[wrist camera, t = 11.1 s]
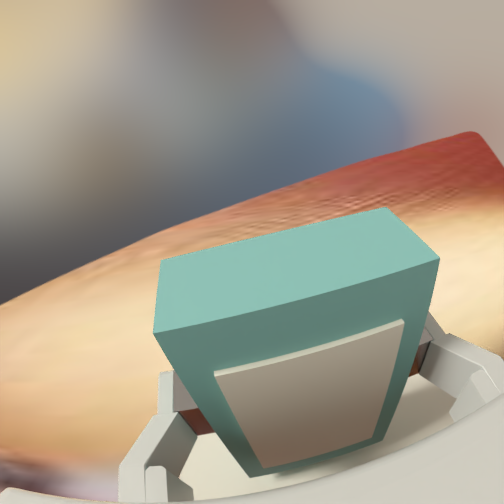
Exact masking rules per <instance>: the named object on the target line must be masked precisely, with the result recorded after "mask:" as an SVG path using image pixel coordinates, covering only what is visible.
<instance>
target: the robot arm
mask: <svg viewBox="0 0 504 504" xmlns="http://www.w3.org/2000/svg"><path fill="white" fill-rule="evenodd" d="M418 373H419V375H420V376H422V377H423V378H425V379H427V380H428V381H430V382H431V383H433V384H434V385H436V386H437V387H439V388H440V389H442V390H444V391H445V392H447V393H448V394H450V395H451V396H453V397H454V398H456V401H455V402H454V404H453V406H452V407H451V409H450V411H449V413H450V415H451V417H452V419H453V421H454V423H453V424H451V425H449V426H447V427H446V428H444V429H442V430H440V431H438V432H436V433H434V434H432V435H430V436H428V437H426V438H424V439H422V440H419V441H417V442H415V443H413V444H411V445H409V446H406V447H404V448H402V449H399V450H397V451H395V452H392V453H390V454H388V455H385V456H383V457H380V458H377V459H375V460H372V461H370V462H367V463H364V464H361V465H358V466H356V467H353V468H350V469H347V470H344V471H341V472H337V473H334V474H331V475H328V476H324V477H321V478H317V479H314V480H310V481H306V482H302V483H298V484H294V485H290V486H286V487H281V488H277V489H272V490H267V491H262V492H256V493H250V494H244V495H238V496H231V497H223V498H215V499H206V500H195V501H194V494H193V488H192V487H190V486H189V485H188V484H186V483H185V482H183V481H182V480H180V479H179V478H178V477H179V475H180V473H181V471H182V469H183V467H184V465H185V463H186V461H187V459H188V457H189V455H190V453H191V451H192V448H193V446H194V444H195V442H196V440H197V438H198V436H199V435H205V434H210V433H215V431H214V430H213V428H212V427H211V425H210V424H209V422H208V421H207V420H206V418H205V417H204V415H203V414H202V412H201V411H200V409H199V408H198V406H197V405H196V403H195V402H194V400H193V399H192V397H191V396H190V394H189V392H188V391H187V389H186V388H185V386H184V385H183V383H182V381H181V380H180V378H179V377H178V375H177V373H176V372H175V370H172V371H166V372H160V374H159V377H158V415H153V417H152V418H151V420H150V421H149V423H148V424H147V426H146V427H145V429H144V430H143V432H142V433H141V435H140V436H139V437H138V439H137V440H136V442H135V443H134V445H133V446H132V448H131V449H130V451H129V452H128V454H127V455H126V457H125V458H124V460H123V461H122V463H121V464H120V466H119V481H118V502H109V501H95V500H84V499H75V498H67V497H60V496H53V495H47V494H42V493H36V492H31V491H27V490H22V489H18V488H11V487H9V488H6V489H5V490H4V491H3V492H2V493H1V494H0V504H504V361H503V359H502V358H501V357H500V356H498V355H496V354H494V353H492V352H490V351H487V350H485V349H483V348H481V347H479V346H476V345H474V344H472V343H470V342H468V341H465V340H463V339H461V338H459V337H457V336H454V335H452V334H450V333H449V334H445V332H444V331H443V330H442V328H441V327H440V326H439V324H438V323H437V322H436V320H435V319H434V318H433V316H432V315H431V314H430V312H429V311H428V314H427V318H426V322H425V325H424V329H423V332H422V336H421V339H420V342H419V346H418V349H417V352H416V355H415V358H414V362H413V365H412V368H411V371H410V373H409V376H408V377H411V376H413V375H416V374H418Z"/></svg>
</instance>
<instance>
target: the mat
mask: <svg viewBox="0 0 504 504" xmlns="http://www.w3.org/2000/svg"><path fill="white" fill-rule="evenodd" d="M455 401H456V398H454V397H453V396H451V395H450V394H448V393H447V392H445V391H444V390H442V389H440V388H439V387H437V386H436V385H434V384H433V383H431V382H430V381H428V380H427V379H425V378H423V377H422V376H420V375H419V373H418V374H416V375H413V376H411V377H408V379H407V382H406V385H405V387H404V390H403V393H402V395H401V398H400V401H399V403H398V406H397V408H396V411H395V413H394V416H393V418H392V420H391V423H390V425H389V427H388V430H387V432H386V434H385V437H384V439H383V441H380V442H377V443H375V444H372V445H370V446H367V447H364V448H361V449H358V450H356V451H353V452H350V453H347V454H344V455H341V456H338V457H334V458H331V459H328V460H324V461H321V462H318V463H314V464H310V465H307V466H303V467H299V468H295V469H291V470H287V471H282V472H278V473H273V474H269V475H264V476H259V477H253V478H249V476H248V475H247V474H246V473H245V471H244V470H243V469H242V468H241V466H240V465H239V464H238V462H237V461H236V460H235V458H234V457H233V456H232V454H231V453H230V452H229V450H228V449H227V448H226V446H225V445H224V444H223V442H222V441H221V439H220V438H219V437H218V435H217V434H216V432H215V433H210V434H205V435H199V436H198V438H197V440H196V442H195V444H194V446H193V448H192V451H191V453H190V455H189V457H188V459H187V461H186V463H185V465H184V467H183V469H182V471H181V473H180V478H181V480H182V481H183V482H185V483H186V484H188V485H189V486H190V487H192V488H193V494H194V501H195V500H206V499H215V498H223V497H231V496H238V495H244V494H250V493H256V492H262V491H267V490H272V489H277V488H281V487H286V486H290V485H294V484H298V483H302V482H306V481H310V480H314V479H317V478H321V477H324V476H328V475H331V474H334V473H337V472H341V471H344V470H347V469H350V468H353V467H356V466H358V465H361V464H364V463H367V462H370V461H372V460H375V459H377V458H380V457H383V456H385V455H388V454H390V453H392V452H395V451H397V450H399V449H402V448H404V447H406V446H409V445H411V444H413V443H415V442H417V441H419V440H422V439H424V438H426V437H428V436H430V435H432V434H434V433H436V432H438V431H440V430H442V429H444V428H446V427H447V426H449V425H451V424H453V423H454V421H453V419H452V417H451V415H450V413H449V411H450V409H451V407H452V406H453V404H454V402H455Z"/></svg>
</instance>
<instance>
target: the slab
mask: <svg viewBox="0 0 504 504" xmlns="http://www.w3.org/2000/svg"><path fill="white" fill-rule="evenodd" d="M439 261H440V257H439V256H438V255H437V254H436V253H435V252H434V251H433V250H432V249H431V248H430V247H429V246H428V245H426V244H425V243H424V242H423V241H422V240H421V239H420V238H419V237H418V236H417V235H416V234H415V233H414V232H413V231H412V230H411V229H410V228H409V227H408V226H407V225H405V224H404V223H403V222H402V221H401V220H400V219H399V218H398V217H397V216H396V215H395V214H393V213H392V212H391V211H390V210H389V209H388V208H387V207H383V208H379V209H374V210H370V211H366V212H361V213H357V214H352V215H348V216H344V217H339V218H335V219H331V220H326V221H322V222H318V223H313V224H309V225H305V226H301V227H296V228H292V229H288V230H284V231H279V232H275V233H271V234H267V235H263V236H258V237H254V238H250V239H246V240H242V241H238V242H233V243H229V244H225V245H221V246H217V247H213V248H209V249H205V250H201V251H197V252H192V253H188V254H184V255H180V256H176V257H172V258H168V259H164V260H161V264H160V272H159V280H158V289H157V298H156V307H155V317H154V328H153V334H154V336H155V338H156V340H157V341H158V343H159V345H160V347H161V348H162V350H163V352H164V353H165V355H166V357H167V359H168V360H169V362H170V364H171V365H172V367H173V368H174V370H175V372H176V373H177V375H178V377H179V378H180V380H181V381H182V383H183V385H184V386H185V388H186V389H187V391H188V392H189V394H190V396H191V397H192V399H193V400H194V402H195V403H196V405H197V406H198V408H199V409H200V411H201V412H202V414H203V415H204V417H205V418H206V420H207V421H208V422H209V424H210V425H211V427H212V428H213V430H214V431H215V432H216V434H217V435H218V437H219V438H220V439H221V441H222V442H223V444H224V445H225V446H226V448H227V449H228V450H229V452H230V453H231V454H232V456H233V457H234V458H235V460H236V461H237V462H238V464H239V465H240V466H241V468H242V469H243V470H244V471H245V473H246V474H247V475H248V476H249V478H253V477H259V476H264V475H269V474H273V473H278V472H282V471H287V470H291V469H295V468H299V467H303V466H307V465H310V464H314V463H318V462H321V461H324V460H328V459H331V458H334V457H338V456H341V455H344V454H347V453H350V452H353V451H356V450H358V449H361V448H364V447H367V446H370V445H372V444H375V443H377V442H380V441H383V439H384V437H385V434H386V432H387V430H388V427H389V425H390V423H391V420H392V418H393V416H394V413H395V411H396V408H397V406H398V403H399V401H400V398H401V395H402V393H403V390H404V387H405V385H406V382H407V379H408V376H409V373H410V371H411V368H412V365H413V362H414V358H415V355H416V352H417V349H418V346H419V342H420V339H421V336H422V332H423V329H424V325H425V322H426V318H427V314H428V310H429V306H430V302H431V298H432V294H433V290H434V285H435V281H436V276H437V271H438V266H439Z"/></svg>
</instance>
